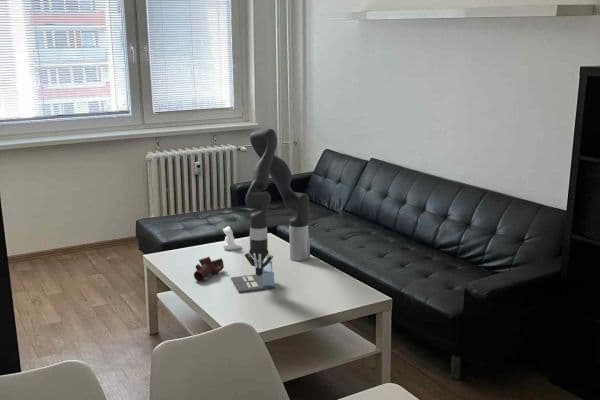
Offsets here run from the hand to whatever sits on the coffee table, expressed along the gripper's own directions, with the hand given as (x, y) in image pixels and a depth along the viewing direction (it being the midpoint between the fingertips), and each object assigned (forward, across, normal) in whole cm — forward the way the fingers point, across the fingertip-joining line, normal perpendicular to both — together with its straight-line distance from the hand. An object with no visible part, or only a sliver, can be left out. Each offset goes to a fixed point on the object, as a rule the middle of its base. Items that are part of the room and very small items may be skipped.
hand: (259, 275), depth 299 cm
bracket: (+8, +30, -11) cm, 33 cm away
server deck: (+7, +6, -7) cm, 12 cm away
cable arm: (+3, -2, -5) cm, 7 cm away
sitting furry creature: (+8, +38, -52) cm, 65 cm away
